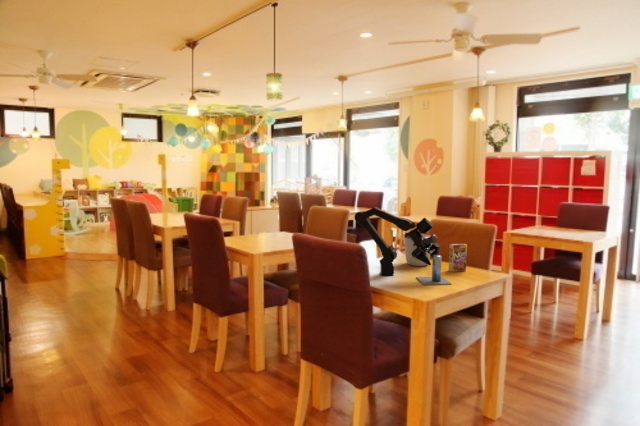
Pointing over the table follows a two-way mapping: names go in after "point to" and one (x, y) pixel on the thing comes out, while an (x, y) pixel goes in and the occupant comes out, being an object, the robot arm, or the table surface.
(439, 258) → the tin canister
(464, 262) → the candy box
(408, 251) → the canister
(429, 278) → the gray mat
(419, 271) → the table surface
